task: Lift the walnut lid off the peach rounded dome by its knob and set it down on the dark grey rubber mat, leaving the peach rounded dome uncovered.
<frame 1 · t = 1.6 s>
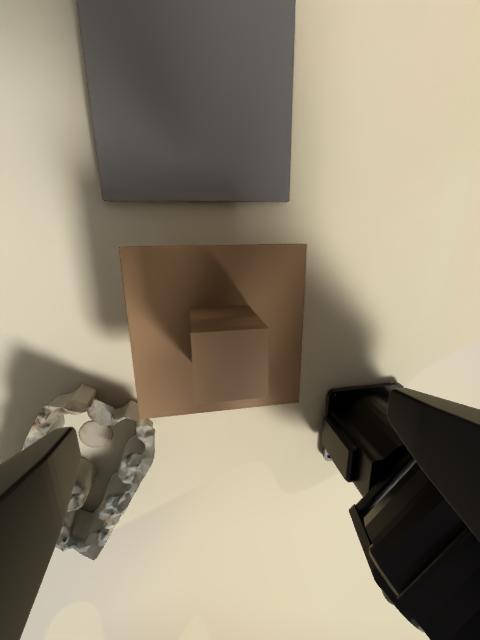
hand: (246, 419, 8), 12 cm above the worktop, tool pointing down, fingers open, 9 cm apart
egg carton: (92, 449, 22), on the worktop
mat: (195, 107, 17), on the worktop
lid: (218, 329, 16), point 4 cm above the worktop, touching peach rounded dome
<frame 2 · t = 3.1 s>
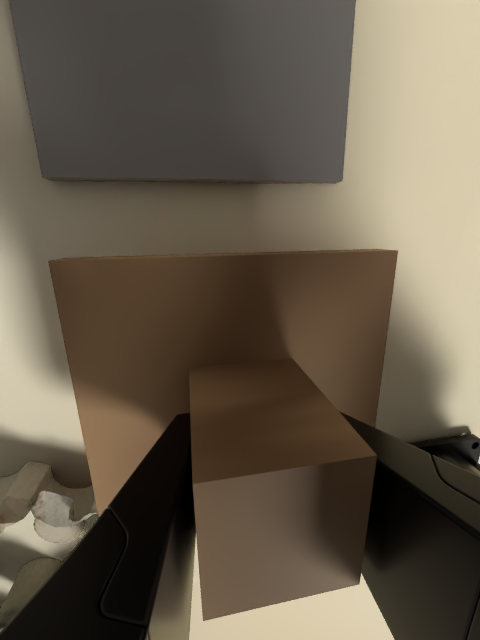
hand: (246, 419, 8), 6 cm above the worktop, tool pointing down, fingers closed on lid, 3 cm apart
egg carton: (58, 541, 15), on the worktop
mat: (196, 22, 10), on the worktop
lid: (237, 392, 10), point 4 cm above the worktop, touching gripper, peach rounded dome
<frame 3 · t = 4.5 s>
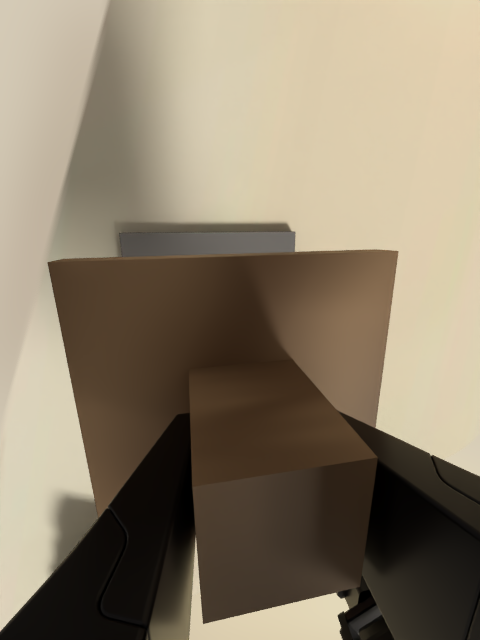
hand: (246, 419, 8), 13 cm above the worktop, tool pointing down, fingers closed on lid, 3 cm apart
mat: (213, 307, 20), on the worktop
lid: (237, 393, 10), point 11 cm above the worktop, touching gripper
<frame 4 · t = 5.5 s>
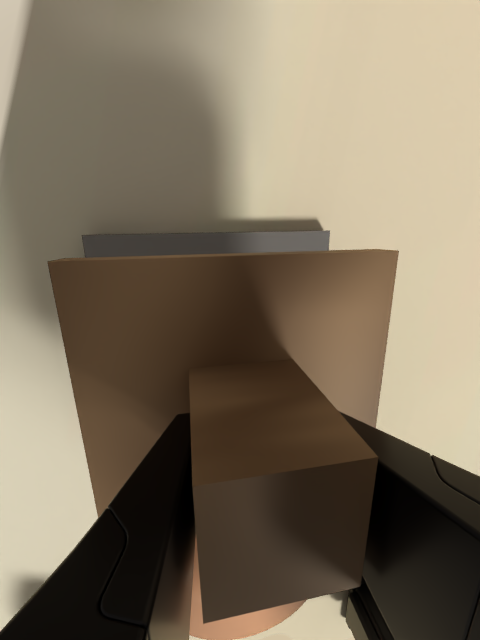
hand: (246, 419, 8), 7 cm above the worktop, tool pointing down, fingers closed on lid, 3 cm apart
peach rounded dome: (232, 513, 19), on the worktop
mat: (217, 334, 15), on the worktop
lid: (237, 393, 10), point 6 cm above the worktop, touching gripper
when the fingers open (4 cm above the worktop, at t = 6.4 s): lid drops 1 cm, resting on mat.
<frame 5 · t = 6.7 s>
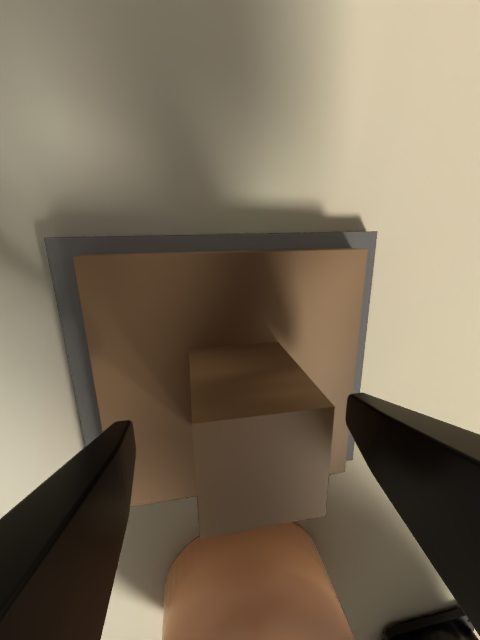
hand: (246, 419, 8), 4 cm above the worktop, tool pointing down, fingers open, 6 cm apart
peach rounded dome: (244, 577, 15), on the worktop
mat: (228, 365, 12), on the worktop
lid: (231, 372, 11), point 1 cm above the worktop, touching mat
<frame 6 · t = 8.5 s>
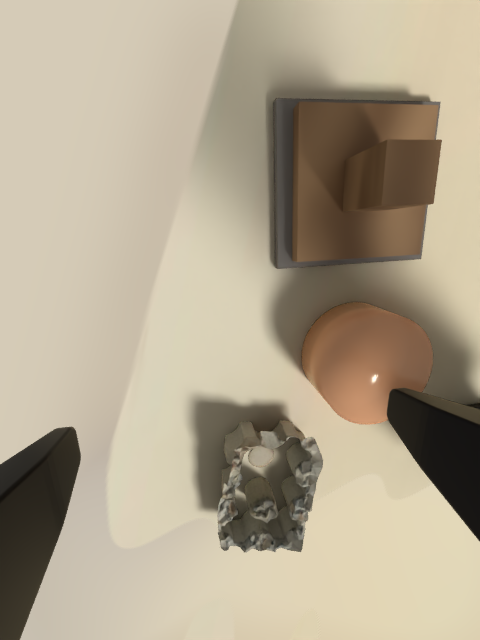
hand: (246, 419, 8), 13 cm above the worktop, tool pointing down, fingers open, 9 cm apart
peach rounded dome: (348, 350, 24), on the worktop
egg carton: (260, 468, 26), on the worktop
mat: (352, 189, 20), on the worktop
lid: (357, 188, 20), point 1 cm above the worktop, touching mat
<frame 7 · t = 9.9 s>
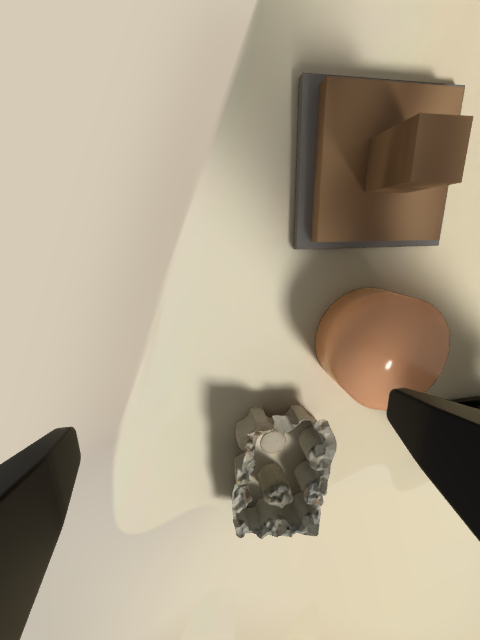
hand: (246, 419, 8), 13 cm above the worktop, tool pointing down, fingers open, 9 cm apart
peach rounded dome: (362, 337, 23), on the worktop
egg carton: (272, 454, 26), on the worktop
mat: (373, 171, 20), on the worktop
lid: (379, 170, 19), point 1 cm above the worktop, touching mat
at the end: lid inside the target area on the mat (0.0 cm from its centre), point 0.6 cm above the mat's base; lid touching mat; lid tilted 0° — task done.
